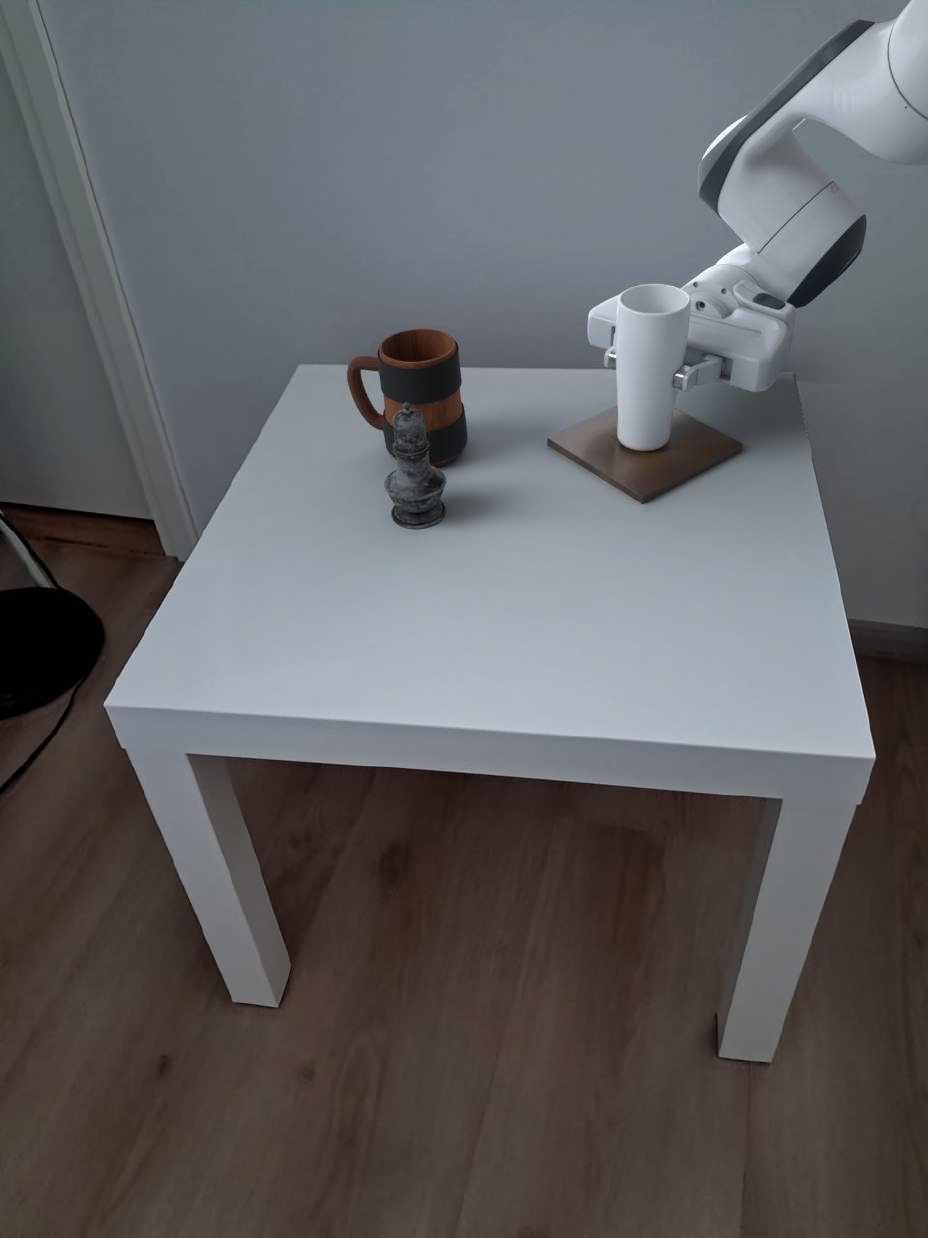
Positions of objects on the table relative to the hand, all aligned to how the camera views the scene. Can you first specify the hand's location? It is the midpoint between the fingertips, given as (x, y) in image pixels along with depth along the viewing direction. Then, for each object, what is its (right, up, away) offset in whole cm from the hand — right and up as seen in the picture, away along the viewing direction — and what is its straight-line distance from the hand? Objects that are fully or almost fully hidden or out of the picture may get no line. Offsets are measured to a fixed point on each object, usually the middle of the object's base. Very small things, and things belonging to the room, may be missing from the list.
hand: (644, 372), depth 90 cm
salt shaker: (-22, -13, +1) cm, 26 cm away
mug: (-23, -6, +9) cm, 25 cm away
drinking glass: (+1, -5, +6) cm, 8 cm away
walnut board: (+1, -6, +6) cm, 9 cm away
